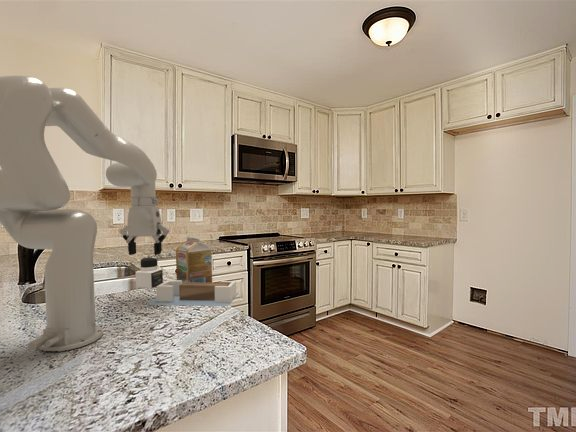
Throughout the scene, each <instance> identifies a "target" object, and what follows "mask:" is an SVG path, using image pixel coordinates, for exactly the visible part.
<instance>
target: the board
mask: <svg viewBox="0 0 576 432" xmlns="http://www.w3.org/2000/svg"><path fill="white" fill-rule="evenodd" d="M238 295H239V292H236V297H237V296H238ZM234 299H235V298H234ZM234 299H233V300H232V301H231V302H215V300H180V296H174V301H173V302H157V297H155V298H154V299H152V300H150V301H149V302H147V303H145V304H144V305H145V306H187V307H189V306H194V307H195V306H198V307H200V306H201V307H229V305H231V304H232V302H233V301H234Z"/></svg>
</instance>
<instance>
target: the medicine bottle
mask: <svg viewBox="0 0 576 432" xmlns="http://www.w3.org/2000/svg"><path fill="white" fill-rule="evenodd" d="M163 275H164V274H163V268H158V258H157V257H153V256H148V257H143V258H142V259H140V270H137V271H135V288H137V289H139V288H140V289H153V288H156V286H158V285H160V284H162V283H164V277H163Z"/></svg>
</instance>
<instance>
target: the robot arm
mask: <svg viewBox="0 0 576 432" xmlns="http://www.w3.org/2000/svg"><path fill="white" fill-rule="evenodd" d="M46 127H58V128H60V130H61V131H63V132H64V133H65V134H66V135H67V136H68V137H69V138H70V139H71V140H72V141H73V142H74V143H75V144H76V145H77V146H78V147H79V148H80V149H81V150H82V151H83V152H85V153H86V154H88V155H91V156H94V157H96V158H99V159H100V158H101V159H103V160H104V159H105V160H107V161H108V160H109V161H114V162H115V163H112V164H110V165H108V167H107V168H106V169H105V177H106V179H107V181H108V182H109V183H110V184H111V185H113V186H116V187H118V188H119V187H120V188H121V187H122V188H125V187H126V188H127V187H128V188H129V187H130V207H129V208H128V214H127V225H126V226H124V227H123V228H122V229H120V230H119V233H120V235H121V236H122V239H124V241H125V242H126V243H127V251H128V255H129V256H132V255H135V254H137V242H136V239H137V238H138V237H141V238H143V237H146V238H148V237H152V239H153V240H154V242H155V243H154V244H153V251H154V252H153V253H154V254H153V255H154V256H157V255H158V256H159V255H161V254H162V244H163V242H164V240H165V239H167V236H168V235H169V232H170V230H169V228H167V227H165V225H162V223H163V222H162V218H161V211H160V207H159V206H157V204H159V203H160V199H159V198H157V197H156V194H157V193H156V181H157V176H158V175H157V174H158V173H157V170H156V168H155V165H154V163H153V162H152V160H151V159H150V158H149V156H148V155H147V154H146V152H144V151H143V150H142V149H141V148H140V147H139V146H137V145H135V144H134V143H131V142H130V141H128V140H126V139H125V138H123V137H121V136H119V135H116V134H115V133H113V132H111V130H109V128H108V127H107V126H106V124H105V123H104V122H103V121H102V119H100V118H99V116H98V114H96V112H94V110H93V109H92V108H91V106H89V104H88V103H87V102H86V101H85V99H83V97H82V96H81V95H80V94H79V93H78V92H76V91H75V90H73V89H71V88H67V87H48V86H47V85H46V83H44V82H43V81H42V80H40V79H39V78H36V77H32V76H27V75H3V76H0V224H1V226H2V227H3V228H4V229H5V231H6V232H7V234H9V236H10V237H11V238H12V239H13V241H15V242H16V244H18V245H19V246H22V247H24V248H26V249H31V250H51V253H50V254H49V256H48V258H47V260H46V262H45V266H44V272H43V274H44V276H43V278H44V294H45V297H44V298H45V316H46V318H45V319H46V320H45V321H46V328H43V329H42V334H41V335H40V337H37V338H35V339H33V340H31V341H29V342H28V343H27V348H28V350H30V351H36V350H37V349H39V350H40V351H42V350H43V351H42V352H46V351H58V352H64V351H65V350H66V351H70V350H75V349H79V348H81V347H84V346H87V345H90V344H92V343H94V342H96V341H98V340H99V339H100V338H101V337H102V336H103V334H104V329H103V327H102V326H99V325H96V305H95V304H96V303H95V273H94V251H95V244H96V239H97V234H98V225H97V221H96V219H95V218H94V216H92V215H91V214H90V213H88V212H86V211H84V210H81V209H73V208H63V207H65V206H66V205H68V203H69V201H70V198H71V191H70V188H69V186H68V183H67V182H66V180H65V178H64V176H63V174H62V173H61V171H60V169H59V168H58V165H57V164H56V162H55V160H54V158H53V157H52V155H51V153H50V151H49V148H48V147H47V145H46V142H45V140H46V139H45V130H46V129H45V128H46ZM62 208H63V209H62ZM66 351H65V352H66Z"/></svg>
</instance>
